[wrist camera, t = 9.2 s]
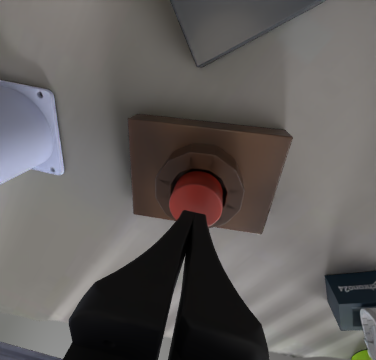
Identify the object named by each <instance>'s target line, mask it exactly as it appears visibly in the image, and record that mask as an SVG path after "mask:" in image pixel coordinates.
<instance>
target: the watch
mask: <svg viewBox="0 0 376 360" xmlns="http://www.w3.org/2000/svg"><path fill="white" fill-rule="evenodd" d="M325 281H326V290H327V299H328V303H329V305H330V307H331V310H332V312H333V314H334V316H335V319H336V321H337V323H338V325H339V328H340V330H341V331H346V330H363V331H364V334H365V338H364V340H365V343H366V346H367V348H368V350H367V352H368V354H369V356H370V357H371V358H372V360H376V271H371V272H360V273H349V274H338V275H327V276H325Z"/></svg>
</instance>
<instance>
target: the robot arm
mask: <svg viewBox="0 0 376 360" xmlns="http://www.w3.org/2000/svg"><path fill="white" fill-rule="evenodd" d="M41 93H42V95H43V97H42V96H41ZM53 168H54V169H55V170H54V169H53ZM30 169H33V170H38V171H42V172H47V173H51V174H55V175H62V174H63V173H64V164H63V157H62V149H61V142H60V135H59V128H58V121H57V113H56V106H55V99H54V94H53V93H52V92H51V91H50V90H48V89H44V88H39V87H34V86H29V85H24V84H19V83H14V82H9V81H4V80H0V185H1V184H3V183H4V182H6V181H8V180H10V179H12V178H14V177H16V176H18V175H20V174H22V173H24V172H26V171H28V170H30ZM185 254H186V255H185ZM184 257H185V264H184V273H183V282H182V291H181V297H180V302H179V307H178V312H177V317H176V322H175V327H174V332H173V337H172V343H171V347H170V352H169V357H168V360H269V354H268V347H267V343H266V339H265V335H264V332H263V329H262V325H261V324H260V322H259V321H258V320H257V318H256V317H255V316H254V315H253V313H252V312H251V311H250V310H249V308H248V307H247V306H246V304H245V303H244V301H243V300H242V299H241V297H240V296H239V294H238V293H237V291H236V289H235V288H234V286H233V285H232V283H231V281H230V280H229V278H228V276H227V274H226V272H225V271H224V269H223V267H222V265H221V263H220V260H219V258H218V256H217V253H216V251H215V248H214V246H213V243H212V240H211V236H210V233H209V229H208V225H207V218H206V215H205V214H201V213H196V212H192V211H188V210H183V211H182V213H181V215H180V216H179V218H178V219H177V221H176V222H175V223H174V224H173V226H172V227H171V228H170V229H169V230H168V231H167V232H166V233H165V234H164V235H163V237H162V238H161V239H160V240H159V241H157V242H156V243H155V244H154V245H153V246H152V247H151V248H149V249H148V250H147V251H146V252H144V253H143V254H142V255H140V256H139V257H138V258H136V259H135V260H134V261H132V262H130V263H129V264H127V265H126V266H124V267H122V268H121V269H119V270H118V271H116V272H114V273H112V274H110V275H108V276H106V277H104V278H102V279H101V280H99V281H97V282H95V283H94V284H93V285H92V287H91V288H90V289H89V290H88V291H87V293H86V294H85V295H84V296H83V298H82V299H81V301H80V302H79V304H78V305H77V307H76V309H75V310H74V312H73V314H72V315H71V317H70V319H69V327H70V332H71V336H72V341H73V342H72V344H71V346H70V348H69V349H68V351H67V353H66V355H65V357H64V358H63V359H61V358H57V357H53V356H49V355H46V354H43V353H39V352H36V351H32V350H28V349H25V348H21V347H18V346H14V345H11V344H7V343H4V342H0V360H158V357H159V353H160V348H161V344H162V339H163V335H164V331H165V326H166V322H167V317H168V313H169V309H170V304H171V300H172V296H173V292H174V288H175V285H176V282H177V279H178V276H179V273H180V270H181V266H182V263H183V260H184Z"/></svg>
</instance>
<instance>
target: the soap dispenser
mask: <svg viewBox="0 0 376 360" xmlns="http://www.w3.org/2000/svg"><path fill="white" fill-rule="evenodd" d="M351 360H372V358H371V357H370V356H369V354H368V352H367V350H364V351H361V352H358V353H356V354H355V355H354V356H353V357H352V359H351Z"/></svg>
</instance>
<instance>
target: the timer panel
mask: <svg viewBox="0 0 376 360" xmlns="http://www.w3.org/2000/svg"><path fill="white" fill-rule="evenodd" d="M170 1H171V4H172V6H173V9H174V11H175V14H176V16H177V19H178V21H179V24H180V26H181V29H182V31H183V34H184V36H185V39H186V41H187V44H188V46H189V49H190V51H191V53H192V56H193V58H194V61H195V63H196V66H197V67H204V66H206V65H207V64H209V63H211V62H213V61H215V60H217V59H219V58H220V57H222V56H224V55H226V54H228V53H230V52H232V51H233V50H235V49H237V48H239V47H241V46H243V45H245V44H246V43H248V42H250V41H252V40H254V39H256V38H258V37H259V36H261V35H263V34H265V33H267V32H269V31H270V30H272V29H274V28H276V27H278V26H280V25H282V24H283V23H285V22H287V21H289V20H291V19H293V18H295V17H296V16H298V15H300V14H302V13H304V12H306V11H308V10H309V9H311V8H313V7H315V6H317V5H319V4H321V3H322V2H324V1H326V0H170Z"/></svg>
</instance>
